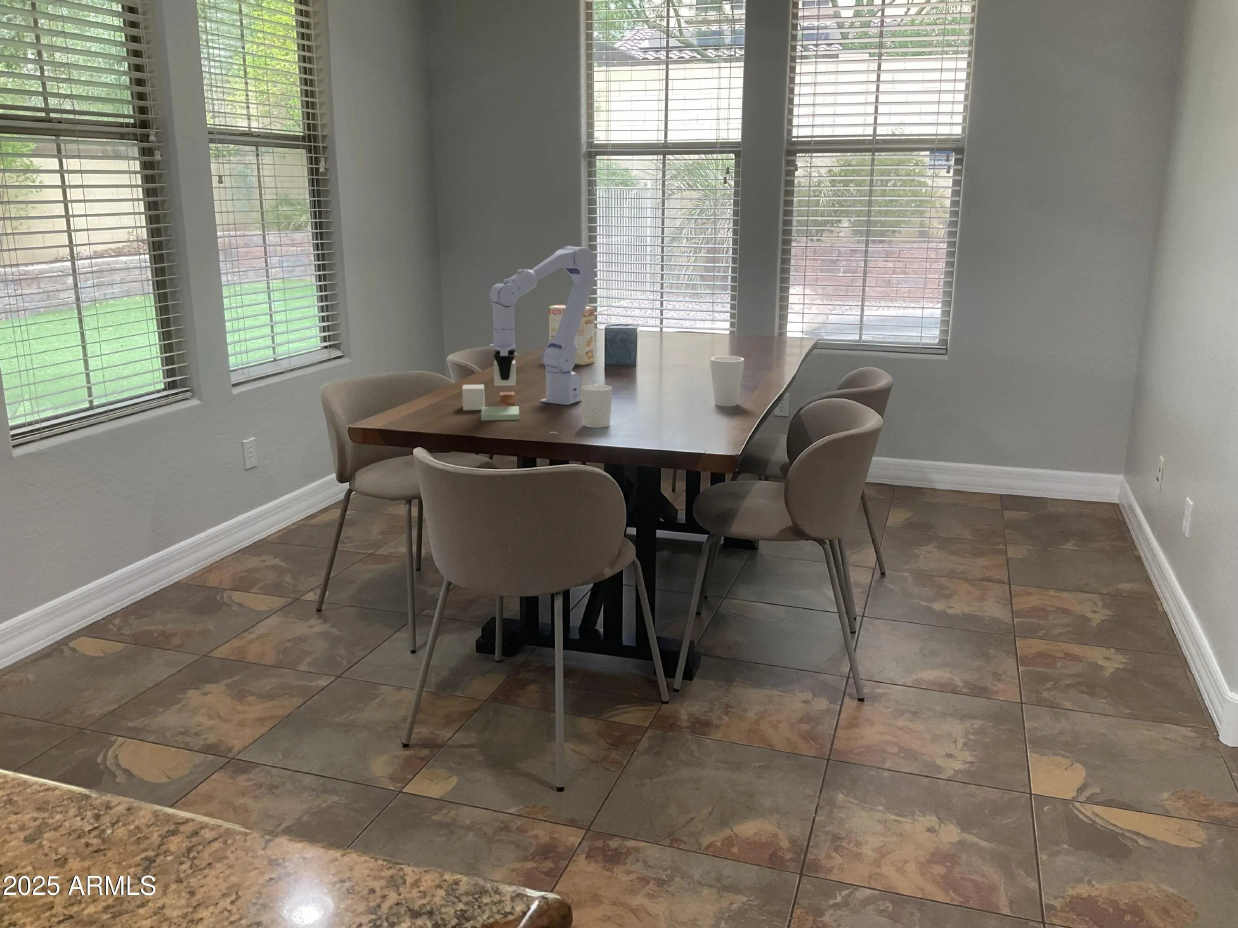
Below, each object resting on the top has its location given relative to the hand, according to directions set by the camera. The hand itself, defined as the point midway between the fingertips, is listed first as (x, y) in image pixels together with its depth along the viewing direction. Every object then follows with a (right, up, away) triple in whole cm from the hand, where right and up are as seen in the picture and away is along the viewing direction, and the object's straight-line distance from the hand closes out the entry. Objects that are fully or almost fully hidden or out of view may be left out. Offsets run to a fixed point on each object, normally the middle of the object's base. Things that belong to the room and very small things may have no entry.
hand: (505, 377), depth 276 cm
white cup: (+26, -14, -17) cm, 34 cm away
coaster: (0, -11, -7) cm, 13 cm away
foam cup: (+62, -7, +8) cm, 63 cm away
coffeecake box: (+15, +12, +76) cm, 78 cm away
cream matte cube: (0, -2, 0) cm, 2 cm away
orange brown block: (0, -8, +4) cm, 9 cm away
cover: (-9, -8, +3) cm, 13 cm away
